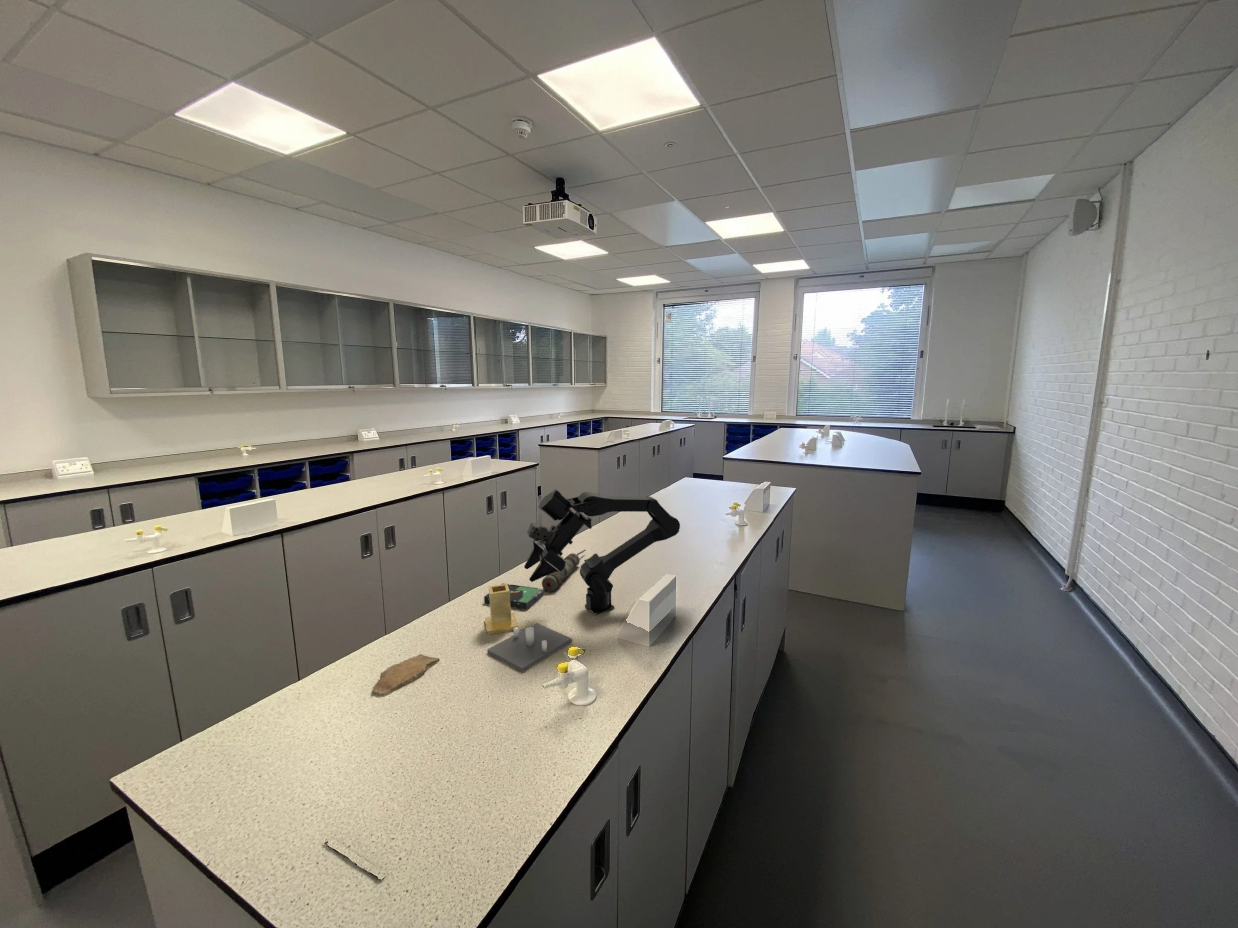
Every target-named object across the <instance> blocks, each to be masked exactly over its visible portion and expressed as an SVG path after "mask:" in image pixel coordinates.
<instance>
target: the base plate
mask: <svg viewBox="0 0 1238 928" xmlns="http://www.w3.org/2000/svg"><path fill="white" fill-rule="evenodd" d="M519 630H520V629H519V626H518V627H515V628H514V630H513V635H512V636H510V637H508V638H506V639H504V640H502V641H500V642H498V643H496V644H494V645H493V646H491V647H489V648H487V649H486V651H487V654H488V655H490V656H492V657H494V658H496V659H497V660H499V661H501V662H503V663H505V664H506V665H509V667H512V668H513V669H516V670H517V671H519V672H522V673H523V672H526V671H528V669H531V668H532V667H534V666H535V665H537V664H539V663H541V662H542V661H543V660H545V659H547V658H548V657H550V656H551V655H553V654H555V653H556V652H558V651H559V650H561V649H563V648H565V647H566V646H568V645H569V644H572V642H573V639H572V638H571V636H568V635H565V634H563V633H561V632H559V631H556V630H554V629H551V628H549V627H546V625H545V626H544V625H543V624H540V623H538V622H537V623H534V624H532V625H530V626H527V627H525V628H524V629H522V630H520V631H519Z"/></svg>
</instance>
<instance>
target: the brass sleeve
mask: <svg viewBox="0 0 1238 928" xmlns="http://www.w3.org/2000/svg"><path fill="white" fill-rule="evenodd" d="M501 584H502V583H501ZM501 584H497V585H489V586H488V594H489V599H490V604H489V611H490V613H489V614H490V616H488V617H487V616H486V617H484V622H485V629H486V636H490V635H493V634H494V635H496V634H500V633H505V632H507V633H508V632H512V631H514V628H515V627H518V628H519V625H518V620H517V618H516V615H515V612H512V610H511V609H512V608H511V607H510V591H509V587H508V584H509V583H503V584H502V585H501Z"/></svg>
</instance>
